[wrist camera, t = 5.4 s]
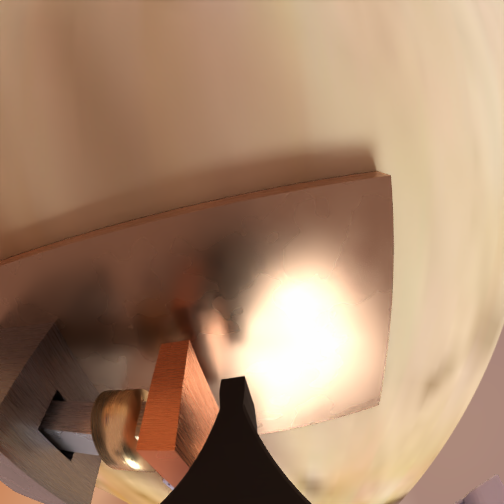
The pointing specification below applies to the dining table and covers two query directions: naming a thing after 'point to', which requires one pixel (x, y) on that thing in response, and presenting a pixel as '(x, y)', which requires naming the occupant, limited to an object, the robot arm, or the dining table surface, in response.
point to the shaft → (142, 419)
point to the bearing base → (200, 315)
